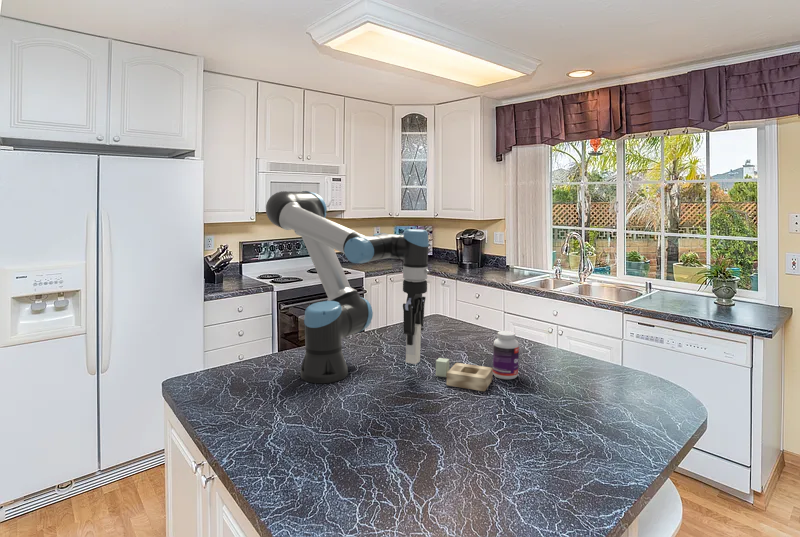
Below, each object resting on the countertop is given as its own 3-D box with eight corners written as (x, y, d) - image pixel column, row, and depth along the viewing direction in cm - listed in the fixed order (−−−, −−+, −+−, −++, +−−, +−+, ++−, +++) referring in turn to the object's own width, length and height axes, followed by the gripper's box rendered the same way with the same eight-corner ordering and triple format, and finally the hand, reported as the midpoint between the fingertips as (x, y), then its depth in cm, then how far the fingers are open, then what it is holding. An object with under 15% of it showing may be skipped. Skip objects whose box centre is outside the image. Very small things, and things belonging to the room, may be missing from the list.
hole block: (446, 385, 148) (446, 372, 148) (456, 374, 157) (456, 362, 157) (484, 391, 143) (485, 378, 143) (492, 379, 153) (492, 367, 152)
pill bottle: (518, 381, 151) (520, 337, 149) (492, 379, 153) (493, 335, 151) (517, 372, 159) (519, 330, 157) (492, 370, 161) (494, 328, 158)
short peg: (435, 375, 156) (435, 361, 155) (439, 372, 159) (439, 357, 159) (445, 377, 155) (446, 362, 154) (449, 373, 158) (449, 359, 157)
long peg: (405, 362, 152) (406, 325, 150) (409, 359, 155) (410, 323, 153) (415, 364, 151) (417, 327, 149) (419, 360, 154) (421, 324, 152)
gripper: (416, 285, 140) (414, 362, 144) (435, 276, 155) (433, 346, 159) (393, 282, 143) (391, 358, 147) (414, 274, 158) (412, 343, 162)
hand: (413, 352), depth 153 cm, fingers closed on long peg, 3 cm apart
